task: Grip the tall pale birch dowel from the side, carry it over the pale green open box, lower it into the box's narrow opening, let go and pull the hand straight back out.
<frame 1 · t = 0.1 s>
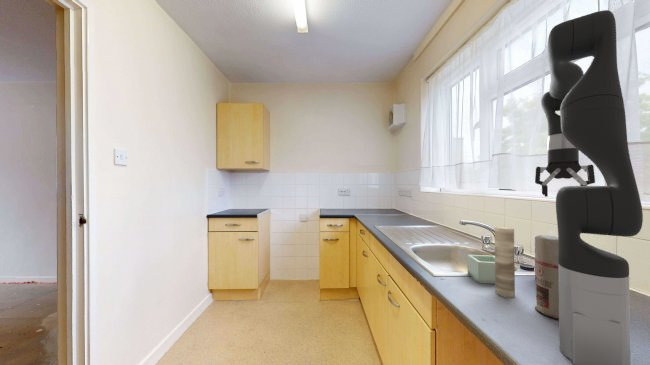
hand: (563, 196, 82), 29 cm above the countertop, tool pointing down, fingers open, 8 cm apart
mug: (549, 286, 81), on the countertop
white labelled canister: (555, 314, 64), on the countertop
pale green open box: (486, 278, 88), on the countertop
birch dowel: (505, 293, 75), on the countertop
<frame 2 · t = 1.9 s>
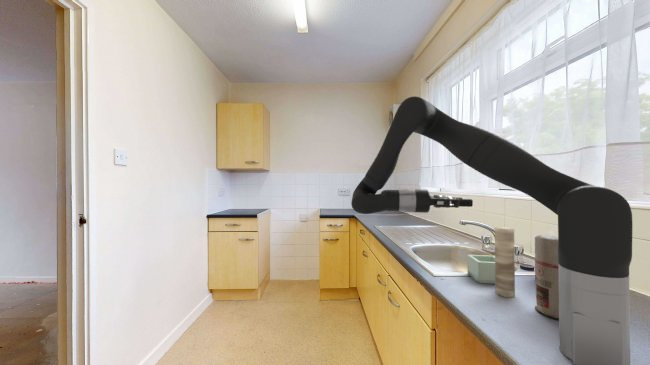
hand: (466, 201, 78), 28 cm above the countertop, tool horizontal, fingers open, 8 cm apart
nothing on the countertop moved.
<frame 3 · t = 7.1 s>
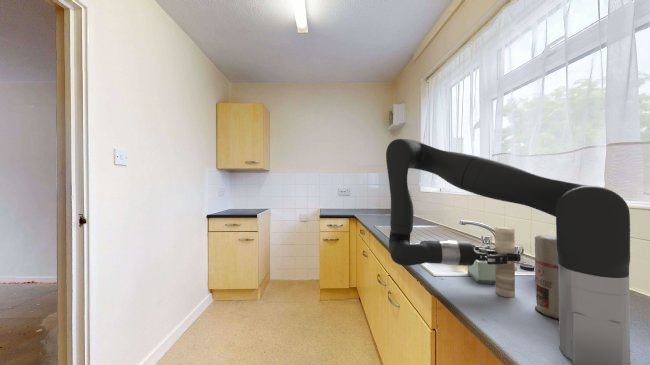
hand: (514, 254, 75), 12 cm above the countertop, tool horizontal, fingers closed on birch dowel, 4 cm apart
birch dowel: (504, 293, 75), on the countertop, touching gripper
everything else where it was.
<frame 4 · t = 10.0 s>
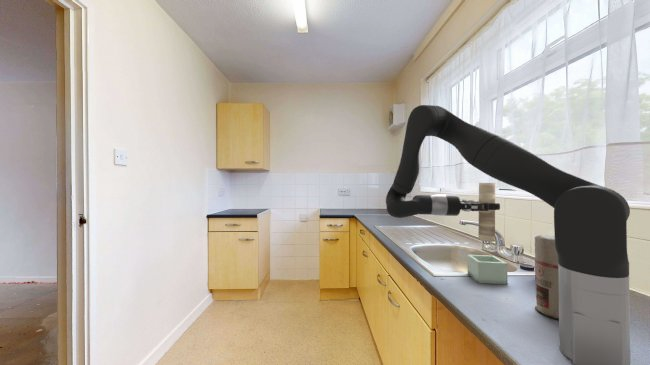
hand: (494, 205, 86), 26 cm above the countertop, tool horizontal, fingers closed on birch dowel, 4 cm apart
birch dowel: (486, 240, 86), point 14 cm above the countertop, touching gripper
everything else where it was.
when the fingers open (14 cm above the countertop, at t = 12.9 s): birch dowel drops 1 cm, resting on pale green open box.
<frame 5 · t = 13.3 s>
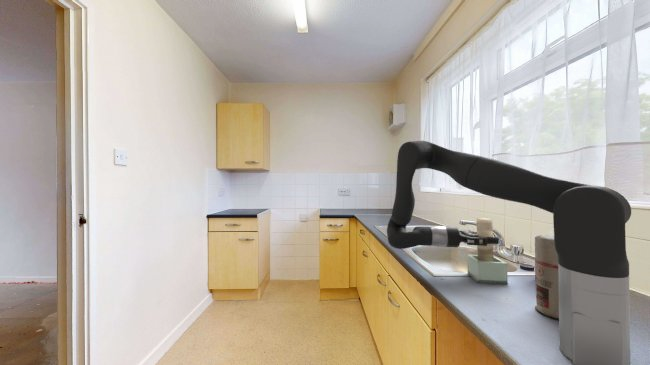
hand: (491, 237, 87), 14 cm above the countertop, tool horizontal, fingers open, 8 cm apart
birch dowel: (486, 275, 88), point 1 cm above the countertop, touching pale green open box
everything else where it was.
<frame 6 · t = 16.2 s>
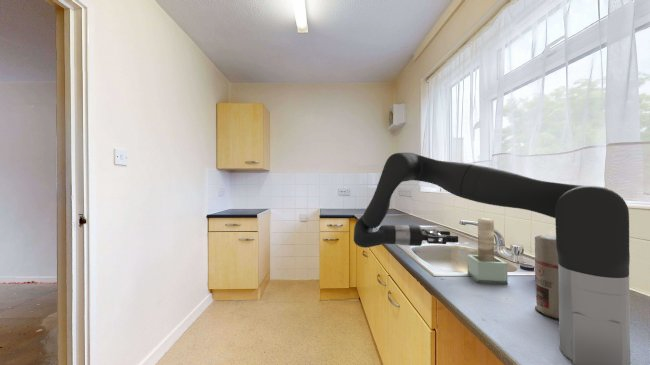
hand: (453, 236, 90), 15 cm above the countertop, tool horizontal, fingers open, 8 cm apart
nothing on the countertop moved.
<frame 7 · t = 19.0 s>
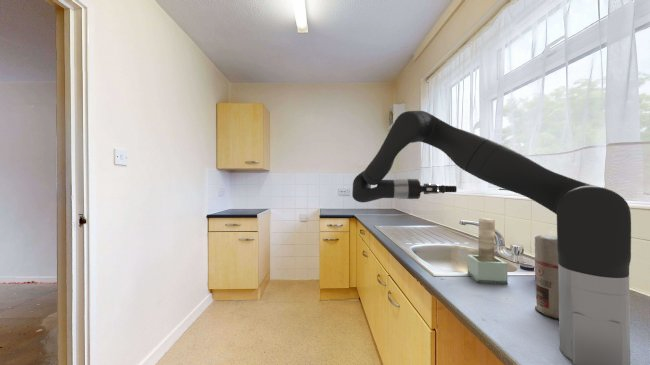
hand: (452, 188, 90), 32 cm above the countertop, tool horizontal, fingers open, 8 cm apart
nothing on the countertop moved.
at the end: birch dowel 0.1 cm off-centre on the pale green open box, point 1.1 cm above the pale green open box's base; birch dowel tilted 1°; the gripper is holding nothing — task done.
